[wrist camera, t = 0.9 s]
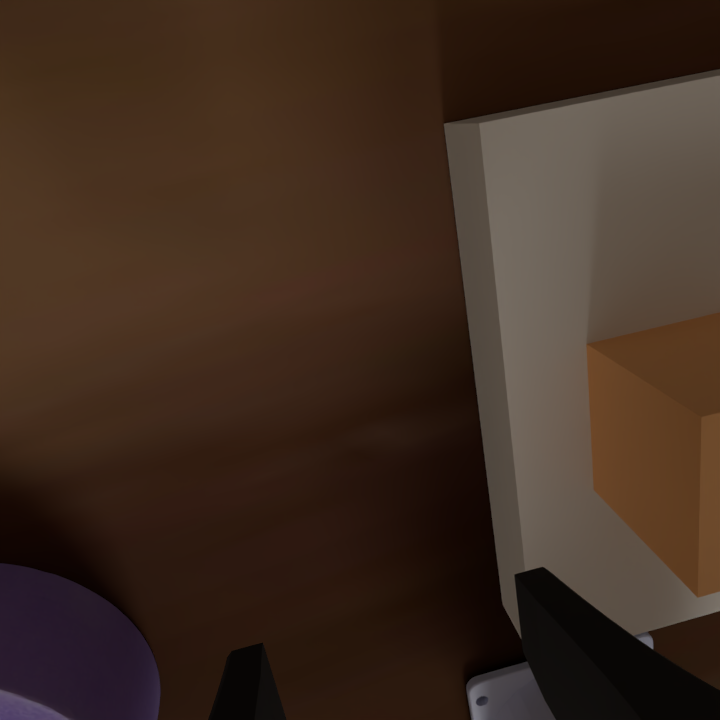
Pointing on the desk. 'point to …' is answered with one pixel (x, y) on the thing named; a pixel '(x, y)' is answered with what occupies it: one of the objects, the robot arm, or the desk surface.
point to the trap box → (580, 311)
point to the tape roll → (70, 653)
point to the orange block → (662, 441)
